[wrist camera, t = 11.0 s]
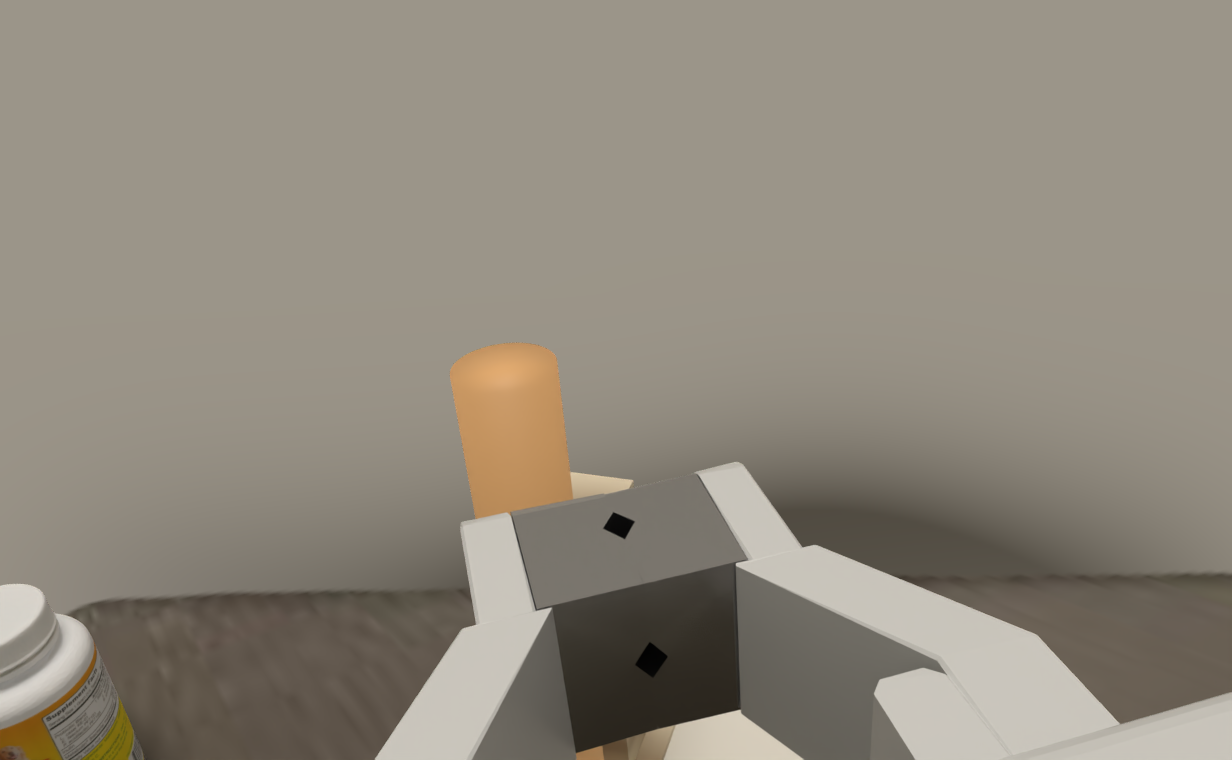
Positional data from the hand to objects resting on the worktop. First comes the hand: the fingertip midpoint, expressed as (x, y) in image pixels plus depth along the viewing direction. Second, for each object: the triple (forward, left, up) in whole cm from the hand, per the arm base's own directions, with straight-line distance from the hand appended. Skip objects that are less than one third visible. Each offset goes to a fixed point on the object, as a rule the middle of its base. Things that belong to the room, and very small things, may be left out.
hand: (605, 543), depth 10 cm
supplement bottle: (+19, -23, -26) cm, 39 cm away
